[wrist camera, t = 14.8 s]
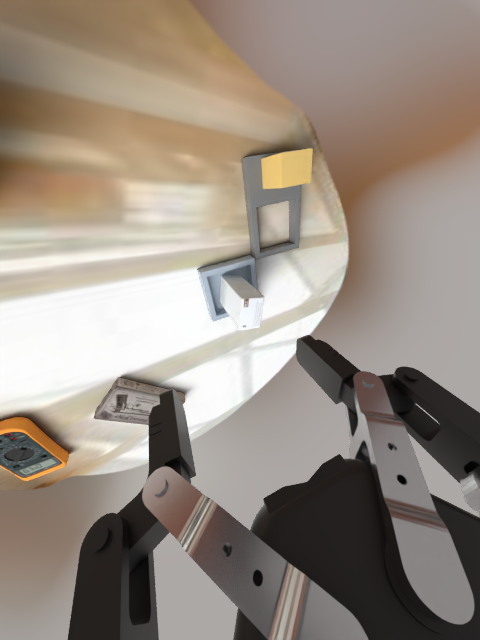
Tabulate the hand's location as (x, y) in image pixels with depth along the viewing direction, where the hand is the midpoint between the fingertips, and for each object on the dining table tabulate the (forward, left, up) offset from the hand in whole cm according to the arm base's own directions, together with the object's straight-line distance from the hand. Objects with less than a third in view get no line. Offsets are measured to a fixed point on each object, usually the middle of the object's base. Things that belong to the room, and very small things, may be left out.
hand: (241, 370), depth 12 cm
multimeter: (+31, -43, -31) cm, 61 cm away
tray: (+9, +8, -30) cm, 32 cm away
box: (+32, -19, -31) cm, 48 cm away
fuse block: (-3, +19, -30) cm, 36 cm away
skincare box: (+9, +8, -30) cm, 32 cm away
